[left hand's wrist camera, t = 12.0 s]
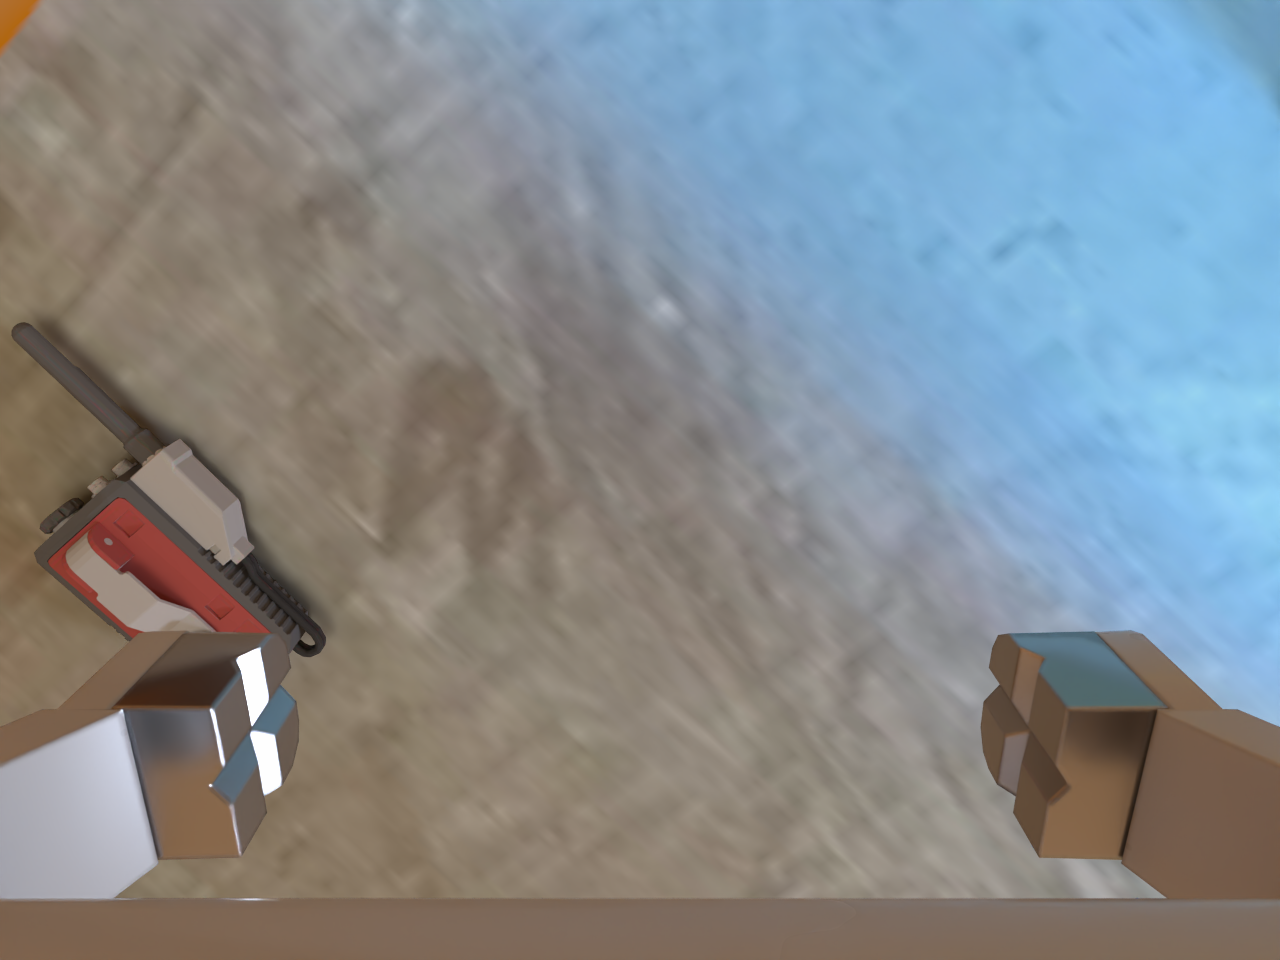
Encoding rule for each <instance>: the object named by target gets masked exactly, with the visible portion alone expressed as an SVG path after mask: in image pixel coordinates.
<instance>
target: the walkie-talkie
mask: <svg viewBox="0 0 1280 960" xmlns="http://www.w3.org/2000/svg"><path fill="white" fill-rule="evenodd" d="M12 337H13V339H14V341H16V342H17V343H18V344H19V345H20V346H21V347H22V348H23V349H24V350H25V351H26V352H27V353H28V354H29V355H30V356H31V357H32V358H34V359H35V360H36V361H37V362H38V363H39V364H40V365H41V366H42V367H43V368H44V369H45V370H46V371H47V372H48V373H49V374H50V375H52V376H53V377H54V378H55V379H56V380H57V381H58V382H59V383H60V384H61V385H62V386H63V387H64V388H65V389H66V390H67V391H68V392H70V393H71V394H72V395H73V396H74V397H75V398H76V399H77V400H78V401H79V402H80V403H81V404H82V405H83V406H84V407H85V408H86V409H87V410H89V411H90V412H91V413H92V414H93V415H94V416H95V417H96V418H97V419H98V420H99V421H100V422H101V423H102V424H103V425H104V426H105V427H107V428H108V429H109V430H110V431H111V432H112V433H113V434H114V435H115V436H116V437H117V438H118V439H119V440H120V441H121V442H122V443H123V444H124V449H126V450H127V451H128V452H129V453H130V454H131V455H132V456H133V457H134V458H135V459H136V460H137V461H138V462H139V463H140V464H139V465H137V464H136V463H133V464H131V463H130V462H129V461H128V460H127V459H124V460H122V461H121V462H120V463H118V464H117V465H116V466H115V467H114V468H113V469H112V471H113V472H114V473H115V474H116V475H117V477H116V478H115V479H114V480H111V481H108V480H106V479H105V478H104V477H103V476H101V477H99V478H98V479H96V480H95V481H94V482H93V483H91V484H90V485H89V486H88V487H87V488H88V489H89V490H90V491H91V492H92V493H93V495H92V496H91V497H92V499H91V500H90V501H89V502H88V503H87V504H86V505H85V506H84V507H83V505H84V503H83V502H82V501H81V500H80V499H79V498H73V499H71V500H69V501H68V502H66V503H65V504H63V505H62V506H61V507H60V508H58V509H57V510H56V511H54V512H53V513H52V514H51V515H49V516H48V517H47V518H46V519H45V520H44V521H43V522H42V523H41V525H40V529H41V530H42V531H43V532H44V533H45V534H48V533H52V532H54V534H53V535H52V536H51V537H50V538H49V539H47V540H46V541H45V542H44V543H43V544H42V545H41V546H40V547H39V548H38V549H37V550H36V551H35V552H34V554H35V557H36V560H37V563H38V564H39V565H41V566H42V567H43V568H44V569H45V570H46V571H48V572H49V573H50V574H51V575H52V576H53V577H54V578H56V579H57V580H58V581H59V582H60V583H61V584H63V585H64V586H65V587H66V588H67V589H68V590H69V591H71V592H72V593H73V594H74V595H75V596H76V597H77V598H79V599H80V600H81V601H82V602H83V603H84V604H86V605H87V606H88V607H89V608H90V609H91V610H92V611H94V612H95V613H96V614H97V615H98V616H99V617H101V618H102V619H103V620H104V621H105V622H106V623H107V624H109V625H111V626H113V627H114V628H115V629H116V631H117V632H118V633H121V634H122V635H123V636H124V637H125V639H126V640H127V641H131V640H132V639H133V638H134V637H135V636H136V635H137V634H138V633H143V632H152V631H189V632H247V633H279V635H280V636H281V637H282V638H283V639H284V640H285V641H286V644H287V649H288V655H289V654H290V653H291V651H292V650H294V651H295V652H296V653H298V654H299V655H301V656H304V657H312V656H314V655H316V654H319V653H320V652H321V650H322V649H323V647H324V646H325V643H326V637H325V635H324V633H323V632H322V630H321V628H320V627H319V626H318V625H317V624H316V623H315V622H314V621H313V620H312V619H311V618H310V617H309V616H308V611H307V610H305V609H304V608H303V607H302V606H301V604H300V603H297V602H296V601H295V600H294V599H293V597H292V596H291V595H289V594H288V593H287V592H286V590H285V589H284V588H282V587H281V586H279V585H278V583H277V582H276V581H274V580H273V579H272V578H271V577H270V575H269V574H268V573H266V572H265V571H264V570H263V569H262V567H260V566H259V565H258V563H257V560H256V559H255V558H254V556H253V555H252V554H251V553H250V552H251V551H252V550H253V549H254V548H255V547H254V546H253V545H252V544H251V543H250V542H249V541H248V538H247V533H246V528H245V523H244V519H243V514H242V509H241V504H240V501H239V499H238V498H237V497H236V496H235V495H234V494H233V493H232V492H231V491H230V490H229V489H228V488H226V487H225V486H224V485H223V484H222V483H221V482H220V481H219V480H218V479H217V478H216V477H215V476H214V475H213V474H212V473H211V472H210V471H209V470H208V469H207V468H206V467H205V466H204V465H203V464H202V463H201V462H200V461H199V460H198V459H197V458H196V457H194V456H193V454H192V450H191V449H190V448H189V447H188V446H187V445H186V444H185V443H184V442H183V441H182V440H181V439H178V440H177V441H175V442H174V443H172V444H170V445H169V446H167V447H166V446H164V445H163V444H162V443H161V442H160V441H159V440H158V439H157V438H156V437H155V436H154V435H153V434H152V433H151V432H150V431H149V430H148V429H142V428H141V427H140V426H138V425H137V424H136V423H135V422H134V421H133V420H132V419H131V418H130V417H129V416H128V415H127V414H126V413H125V412H124V411H123V410H122V409H121V408H120V407H119V406H118V405H117V404H116V403H115V402H114V401H113V400H112V399H111V398H109V397H108V396H107V395H106V394H105V393H104V392H103V391H102V390H101V389H100V388H99V387H98V386H97V385H96V384H95V383H94V382H93V381H92V380H91V379H90V378H89V377H88V376H87V375H86V374H85V373H84V372H83V371H82V370H80V369H79V368H78V367H76V366H74V365H73V364H72V363H71V362H70V361H69V360H68V359H66V358H65V357H64V356H63V355H62V354H61V353H60V352H59V351H58V350H57V349H56V348H55V347H54V346H53V345H52V344H51V343H50V342H48V341H47V340H46V339H45V338H44V337H43V336H42V335H41V334H40V333H39V332H38V331H37V330H36V329H35V328H34V327H33V326H32V325H30V324H28V323H25V322H24V323H19V324H17V325H16V326H14V327H13V329H12ZM136 465H137V466H136ZM305 631H306V632H307V633H308V634H310V635H311V637H312V638H313V640H314V641H315V645H313V646H310V645H308V644H305V643H304V642H303V641H302V640H300V638H301V637H302V636H303V634H304V633H305Z"/></svg>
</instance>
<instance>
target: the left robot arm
mask: <svg viewBox="0 0 1280 960" xmlns="http://www.w3.org/2000/svg"><path fill="white" fill-rule="evenodd" d="M290 669H291V665H290V660H289V655H288V649H287V644H286V641H285V640H284V639H283V638H282V637H281V636H280V635H279V633H247V632H189V631H152V632H143V633H138V634H137V635H136V636H135V637H134V638H133V639H132V640H131V641H130V642H129V643H128V644H126V645H125V646H124V647H123V648H122V649H121V650H120V651H119V652H118V653H117V654H116V655H115V656H114V657H113V658H112V659H110V660H109V661H108V662H107V663H106V664H105V665H104V666H103V667H102V668H101V669H100V670H99V671H98V672H97V673H96V674H94V675H93V676H92V677H91V678H90V679H89V680H88V681H87V682H86V683H85V684H84V685H83V686H82V687H81V688H80V689H78V690H77V691H76V692H75V693H74V694H73V695H72V696H71V697H70V698H69V699H68V700H67V701H66V702H65V703H63V704H62V705H61V706H60V707H59V708H58V709H42V710H40V711H38V712H35V713H33V714H30V715H28V716H26V717H23V718H21V719H18V720H16V721H14V722H11V723H9V724H6V725H4V726H2V727H0V960H1280V727H1278V726H1276V725H1274V724H1271V723H1269V722H1266V721H1264V720H1262V719H1259V718H1257V717H1254V716H1252V715H1250V714H1247V713H1245V712H1242V711H1240V710H1238V709H1222V708H1221V707H1220V706H1219V705H1218V704H1217V703H1216V702H1214V701H1213V700H1212V699H1211V698H1210V697H1209V696H1208V695H1207V694H1206V693H1205V692H1204V691H1203V690H1202V689H1201V688H1200V687H1198V686H1197V685H1196V684H1195V683H1194V682H1193V681H1192V680H1191V679H1190V678H1189V677H1188V676H1187V675H1186V674H1185V673H1184V672H1183V671H1181V670H1180V669H1179V668H1178V667H1177V666H1176V665H1175V664H1174V663H1173V662H1172V661H1171V660H1170V659H1169V658H1168V657H1167V656H1165V655H1164V654H1163V653H1162V652H1161V651H1160V650H1159V649H1158V648H1157V647H1156V646H1155V645H1154V644H1153V643H1152V642H1151V641H1150V640H1148V639H1147V638H1146V637H1145V636H1144V635H1143V634H1141V633H1138V632H1134V631H1131V630H1128V631H1104V632H1053V633H1012V634H1002V635H998V637H997V639H996V641H995V643H994V645H993V648H992V653H991V659H990V664H989V669H990V670H991V672H992V673H993V675H994V676H995V678H996V679H997V681H998V682H999V684H1000V685H999V686H998V687H997V688H996V689H995V690H994V691H993V692H992V693H991V694H990V695H989V696H988V698H987V699H986V700H985V701H984V703H983V712H982V720H981V736H982V746H983V753H984V756H985V759H986V762H987V765H988V768H989V770H990V772H991V774H992V776H993V778H994V780H995V781H996V783H997V785H999V786H1000V787H1002V788H1004V789H1005V790H1007V791H1008V792H1010V793H1011V794H1013V795H1015V796H1016V798H1015V804H1014V810H1013V813H1014V815H1015V817H1016V818H1017V820H1018V822H1019V824H1020V825H1021V827H1022V829H1023V831H1024V832H1025V834H1026V836H1027V837H1028V839H1029V841H1030V843H1031V844H1032V846H1033V848H1034V850H1035V851H1036V853H1037V855H1038V856H1039V858H1076V859H1112V860H1122V862H1121V863H1122V864H1123V865H1124V866H1125V867H1127V868H1128V869H1129V870H1131V871H1132V872H1133V873H1135V874H1136V875H1137V876H1139V877H1140V878H1141V879H1143V880H1144V881H1145V882H1147V883H1148V884H1149V885H1151V886H1152V887H1153V888H1154V889H1156V890H1157V891H1158V892H1160V893H1161V894H1162V895H1164V896H1165V897H1166V898H898V899H897V898H891V899H890V898H884V899H883V898H877V899H876V898H870V899H868V898H863V899H860V898H856V899H853V898H849V899H846V898H842V899H839V898H835V899H831V898H828V899H824V898H821V899H815V898H814V899H808V898H807V899H801V898H799V899H794V898H793V899H779V898H778V899H772V898H771V899H507V898H114V897H115V896H117V895H118V894H119V893H121V892H122V891H123V890H125V889H126V888H127V887H128V886H130V885H131V884H132V883H134V882H135V881H136V880H138V879H139V878H140V877H142V876H143V875H144V874H146V873H147V872H148V871H150V870H151V869H152V868H154V867H155V866H156V865H158V860H167V859H203V858H238V857H242V855H243V853H244V851H245V850H246V848H247V846H248V844H249V843H250V841H251V839H252V838H253V836H254V834H255V832H256V831H257V829H258V827H259V825H260V824H261V822H262V820H263V818H264V817H265V815H266V813H267V810H266V804H265V798H264V796H265V795H267V794H269V793H270V792H272V791H273V790H275V789H276V788H278V787H280V786H281V785H283V783H284V781H285V780H286V778H287V776H288V774H289V772H290V770H291V768H292V766H293V763H294V758H295V754H296V750H297V746H298V742H299V717H298V710H297V703H296V701H295V700H294V699H293V698H292V696H291V695H290V694H289V693H288V692H287V691H286V690H285V689H284V688H283V687H282V686H281V685H280V684H281V682H282V681H283V679H284V678H285V676H286V675H287V673H288V672H289V670H290Z"/></svg>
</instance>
